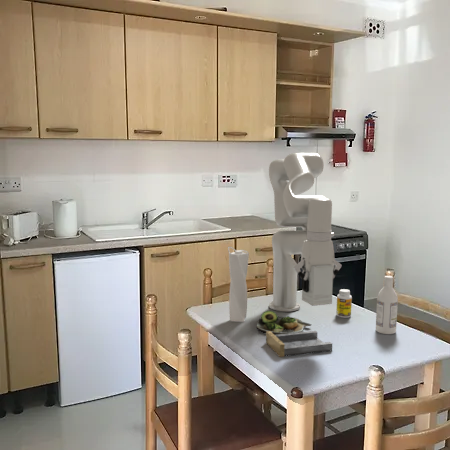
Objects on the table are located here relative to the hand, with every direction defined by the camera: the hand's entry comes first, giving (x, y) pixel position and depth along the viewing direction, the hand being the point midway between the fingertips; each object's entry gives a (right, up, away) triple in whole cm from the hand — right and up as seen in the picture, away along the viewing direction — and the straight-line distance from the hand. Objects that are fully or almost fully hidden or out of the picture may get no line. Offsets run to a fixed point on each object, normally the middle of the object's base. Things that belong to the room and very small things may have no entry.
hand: (317, 290), depth 162 cm
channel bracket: (-6, -19, +1) cm, 20 cm away
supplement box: (0, -4, +1) cm, 4 cm away
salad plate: (-10, -17, +20) cm, 28 cm away
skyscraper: (-25, -15, +28) cm, 40 cm away
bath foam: (+27, -17, +16) cm, 36 cm away
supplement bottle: (+16, -14, +32) cm, 39 cm away
